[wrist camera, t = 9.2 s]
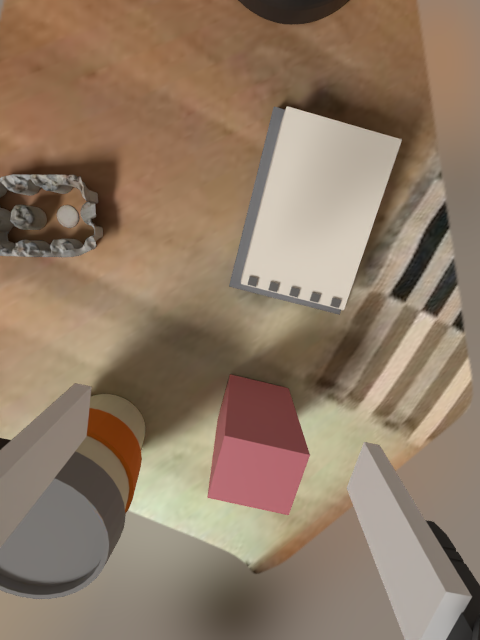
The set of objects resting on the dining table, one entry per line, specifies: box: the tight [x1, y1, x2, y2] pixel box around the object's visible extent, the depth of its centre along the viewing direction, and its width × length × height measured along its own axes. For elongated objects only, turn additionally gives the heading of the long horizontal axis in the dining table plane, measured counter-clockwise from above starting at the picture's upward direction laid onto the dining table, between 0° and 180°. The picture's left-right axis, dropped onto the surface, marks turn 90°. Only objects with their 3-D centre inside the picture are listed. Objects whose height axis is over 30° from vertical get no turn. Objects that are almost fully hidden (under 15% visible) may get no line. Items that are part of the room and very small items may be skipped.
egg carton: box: [0, 174, 103, 257], centre depth 32 cm, size 11×8×4 cm
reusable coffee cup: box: [0, 394, 146, 599], centre depth 32 cm, size 13×13×15 cm
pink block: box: [208, 374, 310, 515], centre depth 32 cm, size 6×7×12 cm
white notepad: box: [229, 106, 402, 315], centre depth 31 cm, size 17×12×5 cm
